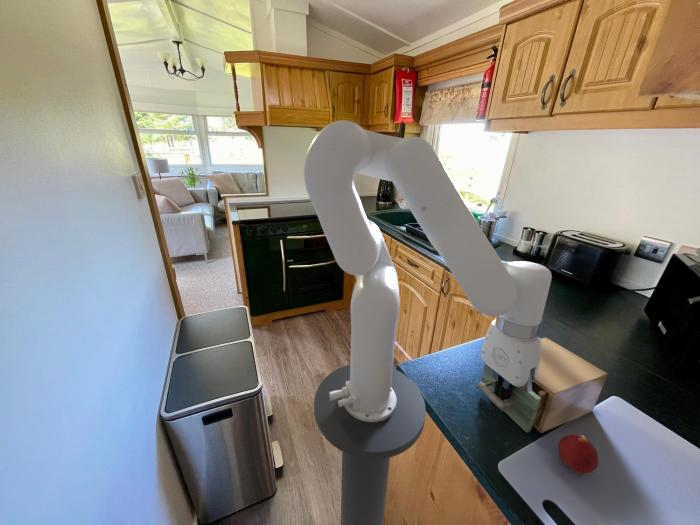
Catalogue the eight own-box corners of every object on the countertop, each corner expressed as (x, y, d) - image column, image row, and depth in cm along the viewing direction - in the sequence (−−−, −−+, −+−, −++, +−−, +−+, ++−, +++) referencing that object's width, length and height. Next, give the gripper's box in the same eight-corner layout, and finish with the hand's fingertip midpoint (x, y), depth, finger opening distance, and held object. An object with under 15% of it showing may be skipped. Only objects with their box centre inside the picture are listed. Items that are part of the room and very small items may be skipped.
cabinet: (541, 433, 61) (554, 393, 57) (488, 385, 73) (496, 350, 69) (592, 411, 66) (608, 373, 63) (535, 370, 79) (545, 337, 75)
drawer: (509, 440, 58) (519, 406, 55) (463, 393, 69) (469, 362, 66) (576, 412, 65) (588, 380, 62) (525, 373, 76) (533, 345, 73)
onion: (581, 456, 56) (594, 426, 53) (598, 487, 51) (613, 455, 48) (548, 450, 57) (559, 419, 54) (561, 479, 52) (574, 447, 49)
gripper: (473, 310, 62) (463, 379, 68) (539, 350, 49) (519, 431, 55) (499, 304, 64) (487, 370, 71) (568, 340, 51) (546, 418, 57)
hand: (501, 397), depth 63 cm, fingers closed
